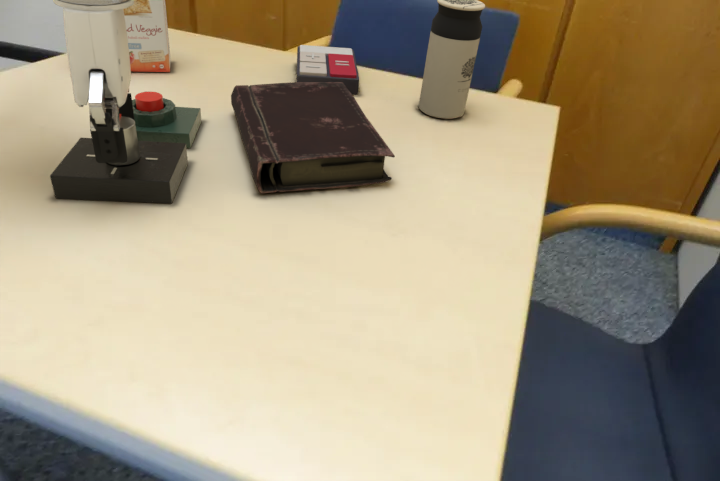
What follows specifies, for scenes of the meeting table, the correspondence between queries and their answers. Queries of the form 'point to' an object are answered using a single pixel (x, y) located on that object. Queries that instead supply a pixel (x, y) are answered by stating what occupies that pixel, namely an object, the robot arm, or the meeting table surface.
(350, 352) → the meeting table surface
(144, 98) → the button
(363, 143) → the diary
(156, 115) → the button base
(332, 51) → the calculator
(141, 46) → the cracker box
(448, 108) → the travel mug
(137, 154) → the hob knob
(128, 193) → the knob base
